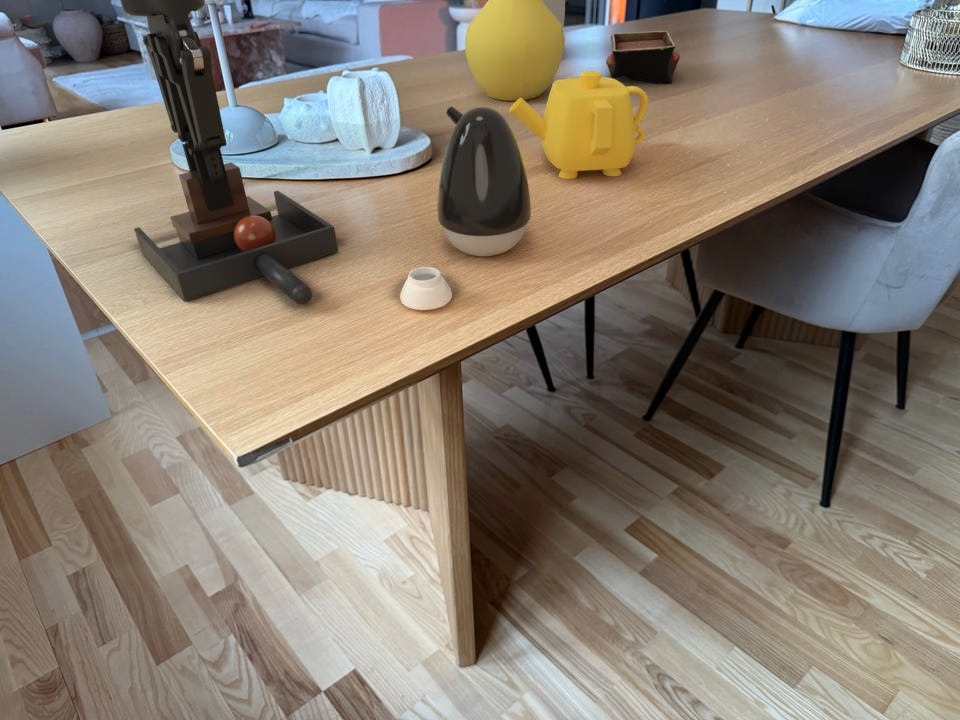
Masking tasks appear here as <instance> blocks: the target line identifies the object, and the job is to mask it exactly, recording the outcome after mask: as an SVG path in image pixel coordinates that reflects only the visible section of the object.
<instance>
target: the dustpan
mask: <svg viewBox="0 0 960 720" xmlns="http://www.w3.org/2000/svg"><path fill="white" fill-rule="evenodd" d="M273 196H274V202H275V206H276V210H277V214H276V215H271V216H272V221H270V223H271V224H272V226H273V228H274V230H275V234H276V240H275V243H271V244H268V245H265V246H262V247H258V248H255V249H252V250H248V251H245V252H243V251H241V250H240V249H239V247H237V248H234V249H230V250H227V251H224V252H220V253H217V254H213V255H210V256H207V257H203V258H200V259H197V258H196V257H195V256H194V255H193V254H192V253H191V252H190V251H189V250H188V249H187V248H186V247H184V246H183V245H182V244H181V243H180V242H177V243H173V244H169V245H165V246H162V247H159V246H158V245H157V244H156V243H155V242H154V241H153V239H151V238H150V237H149V236H148V235H147V234H146V232H145V231H143V229H142V228H141V227H135V228H134V229H133V230H134V233H135V236H136V240H137V242H138V246H139V248H140V251H141V255H142V256H143V257H144V258H145V259H146V261H147V262H148V263H149V264H150V265H151V267H153V268H154V269H155V270H156V272H157V273H158V274H159V275H160V276H161V277H162V278H163V280H164V281H165V282H166V283H167V284H168V285H169V286H170V287H171V289H172V290H173V291H174V292H175V294H177V296H179V298H180V299H181V300H182V301H184V302H187V301H190V300H193V299H197V298H199V297H202V296H205V295H209V294H212V293H215V292H218V291H221V290H224V289H227V288H230V287H233V286H237V285H239V284H243V283H245V282H248V281H252V280H255V279H257V278H261V277H265V278H266V279H267V280H268V281H269V282H270V283H272V284H273V285H274V286H275V287H276V288H278V289H279V290H280V291H281V292H283V293H284V294H285V295H286V297H288V298H289V299H291V300H292V301H293V302H294V303H295V304H297V305H306V304H308V303H310V301H311V300H312V298H313V290H312V288H311V287H310V286H309V285H308V284H306V283H305V282H304V281H303V280H302V279H300V278H299V277H298V276H297V275H296V274H294V273H293V272H292V271H290V270H289V269H288V268H292V267H294V266H298V265H301V264H304V263H308V262H310V261H314V260H316V259H320V258H322V257H326V256H328V255H331V254H335V253H337V252H339V247H338V242H337V236H336V228H335V226H334V225H332V224H331V223H330V222H328V221H326V219H323V218H322V217H320V216H318V215H317V214H316V213H314V212H313V211H311V210H310V209H307V208H306V207H304V206H302V205H301V204H300V203H298V202H297V201H295V200H293V199H292V198H290V197H289V196H287V195H286V194H284V193H283V192H281V191H279V190H274V191H273Z"/></svg>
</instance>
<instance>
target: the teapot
mask: <svg viewBox="0 0 960 720" xmlns="http://www.w3.org/2000/svg"><path fill="white" fill-rule="evenodd" d="M602 76H603V73H602V72H601V71H598V70H584V71H582V72H579V77H578V76H568V77H567V78H563V79H562V78H561V79H555V80H554V81H553V82H552V85H551V87H550V91H549V94H548V98H547V101H546V105H545V109H544V113H543V117H542V115H540V114H539V113H538V112H537V111H536V110H535V109H534V108H533V107H532V106H531V105H530V104H529V103H528V102H526V101H527V100H523V99H522V98H519V99H518V100H517V101H514V103H513V104H512V105H511V106H510V108H509V112H510V113H511V114H512V115H513V116H514V117H516V119H518V120H519V122H521V123H522V124H523V125H525V127H526V128H528V129H529V130H530V131H531V132H532V133H533V134H535V136H537V137H538V138H539V139H540V140H541V145H542V149H543V151H544V154H545V156H546V158H547V160H548V161H549V162H550V163H551V164H552V165H553V166H554V168H557V169H558V170H560V171H559V174H558V177H559V178H561V179H564V180H573V179H576V178H578V173H579V172H581V171H598V170H601V171H602V174H603V176H607V177H618V176H621V175H622V171H621V168H626V167H627V166H628V165H629V164H630V162H631V160H632V158H633V156H634V154H635V150H636V149H635V148H636V147H635V146H636V145H637V146H638V145H640V144H641V143H642V142H643V141H644V140H645V131H644V128H642V127H641V126H640V124H641V122H642V120H643V119H644V117H645V115H646V112H647V110H648V107H649V96H648V95H647V93H646V91H644V90H643V89H642V88H640V87H638V86H635V85H630V86H629V85H628V86H626V85H625V84H623V83H622V82H621V81H620V80H617V79H613V78H611V77H608V76H606V77H605V76H603V77H602ZM632 94H633V95H638V96H639V98H640V101H639V102H640V103H639V105H638V108H637V111H636V113H635V115H634V110H633V104H632V99H631V95H632ZM639 126H640V127H639ZM636 133H638V135H637V136H636Z"/></svg>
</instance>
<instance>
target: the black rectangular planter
mask: <svg viewBox="0 0 960 720" xmlns="http://www.w3.org/2000/svg"><path fill="white" fill-rule="evenodd" d="M610 42H611V48H612V52H611V54H609V55H608V56H607V58H606V60H605V64H606V65H607V66H606V67H607V68H608V71H609V76H610V78H613V79H615V80H617V79H621V78H629V79H634V80H639V81H642V82H648V83H653V84H658V85H659V84H661V85H663V84H665V85H672V84H673V77H674V74H675V71H676V68H677V65H678V63H679V60H680V58H681V54H680V53H678V52H676V51H675V48H676V46H677V44H676V42H675V41H674V40H673V37H672V35H671V32H669V31H667V30H653V31H651V30H650V31H627V32H616V33H612V34H611V35H610Z"/></svg>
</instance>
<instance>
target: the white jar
mask: <svg viewBox="0 0 960 720" xmlns="http://www.w3.org/2000/svg"><path fill="white" fill-rule="evenodd" d="M452 298H453V292H452V289H451V287H450V285H449V284H448V282H447V281H446V279H445V277H444V276H442V274H441V271H440V270H439V269H437V268H435V267H431V266H422V267H421V266H420V267H416V268H414V269H412V270H410V271H409V273H408V276H407V279H405V282H404V283H403V287H402V289H401V291H400V293H399V299H400V302H401V304H402V305H403V306H405V307H406V308H409V309H412V310H415V311H430V310H436V309H439V308H442V307H445V306H446V305H447V304H448V303H450V302H451V300H452Z"/></svg>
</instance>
